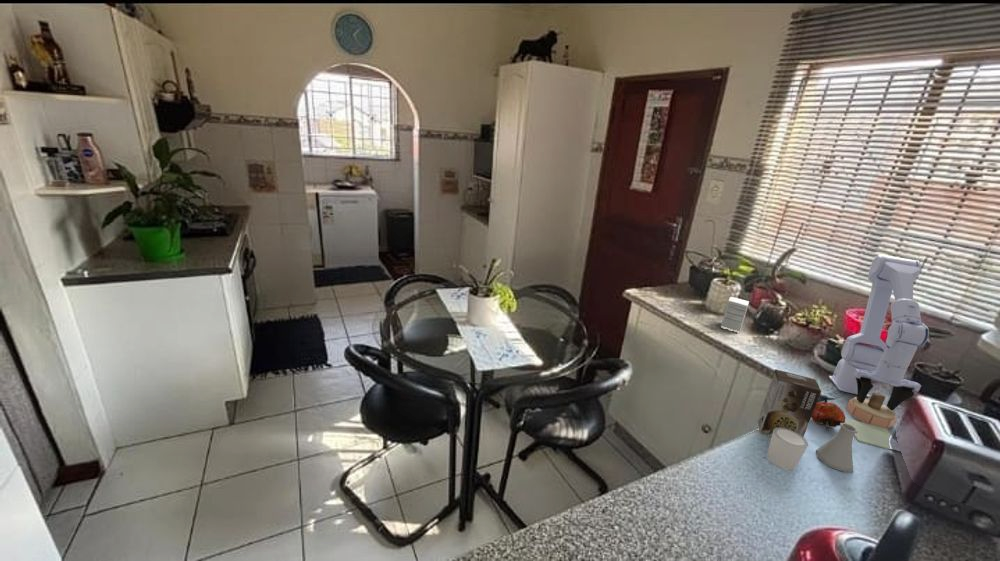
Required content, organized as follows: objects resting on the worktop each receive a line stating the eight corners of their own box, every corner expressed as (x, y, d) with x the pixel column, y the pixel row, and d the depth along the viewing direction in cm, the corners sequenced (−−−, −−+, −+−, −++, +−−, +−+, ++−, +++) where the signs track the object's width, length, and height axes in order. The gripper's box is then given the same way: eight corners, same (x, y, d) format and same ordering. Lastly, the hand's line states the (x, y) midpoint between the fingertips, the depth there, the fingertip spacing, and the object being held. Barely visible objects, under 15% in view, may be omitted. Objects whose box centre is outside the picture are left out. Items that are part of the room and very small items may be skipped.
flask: (859, 476, 95) (876, 440, 92) (825, 468, 96) (841, 433, 93) (841, 454, 102) (856, 421, 99) (809, 448, 103) (823, 414, 100)
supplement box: (722, 323, 179) (730, 296, 175) (741, 328, 175) (750, 301, 171) (719, 328, 173) (727, 300, 169) (739, 333, 169) (748, 305, 165)
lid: (846, 395, 124) (852, 382, 123) (884, 404, 121) (890, 391, 120) (861, 412, 115) (867, 399, 114) (901, 422, 113) (908, 409, 111)
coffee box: (795, 432, 109) (816, 379, 103) (800, 446, 103) (823, 391, 98) (756, 419, 112) (774, 368, 107) (759, 433, 106) (779, 379, 101)
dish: (841, 402, 125) (845, 394, 124) (880, 412, 122) (884, 404, 121) (856, 421, 116) (860, 412, 115) (899, 432, 113) (903, 423, 112)
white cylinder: (792, 456, 99) (802, 432, 97) (802, 476, 93) (813, 451, 91) (760, 447, 101) (769, 423, 99) (768, 466, 95) (778, 441, 92)
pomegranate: (840, 443, 110) (842, 409, 115) (847, 432, 105) (849, 397, 109) (806, 433, 114) (809, 401, 119) (811, 422, 109) (814, 389, 114)
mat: (841, 418, 117) (841, 417, 117) (885, 429, 114) (886, 428, 114) (857, 441, 108) (858, 439, 107) (906, 454, 105) (907, 452, 104)
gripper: (869, 362, 112) (850, 405, 116) (935, 377, 108) (913, 420, 112) (857, 351, 119) (840, 392, 123) (919, 365, 114) (899, 406, 119)
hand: (874, 404), depth 118 cm, fingers open, 7 cm apart
